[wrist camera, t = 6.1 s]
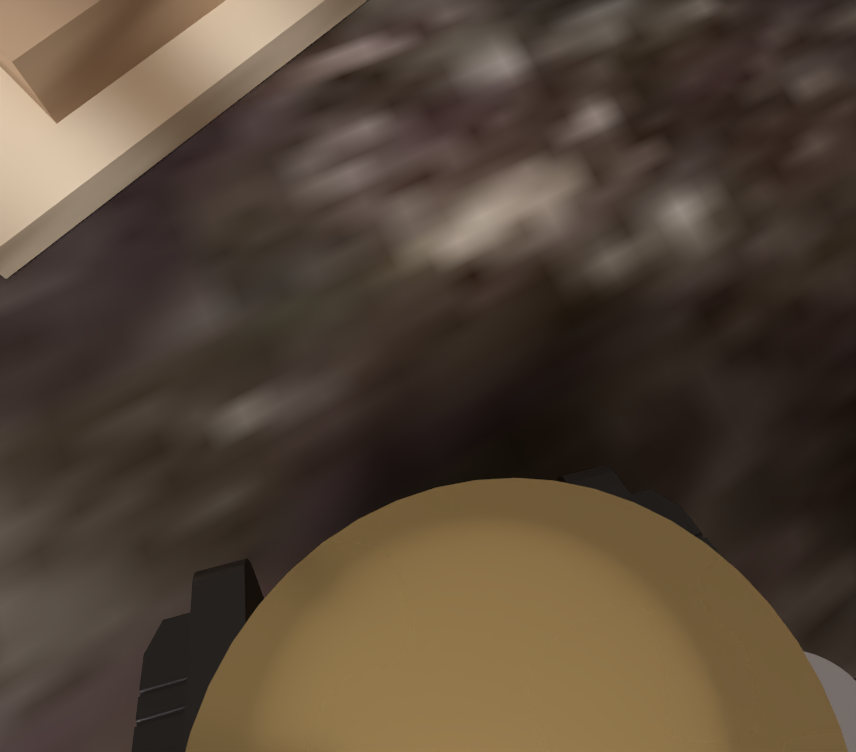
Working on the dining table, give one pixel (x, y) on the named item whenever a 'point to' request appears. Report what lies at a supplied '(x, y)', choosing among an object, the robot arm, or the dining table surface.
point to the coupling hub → (515, 638)
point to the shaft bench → (122, 94)
